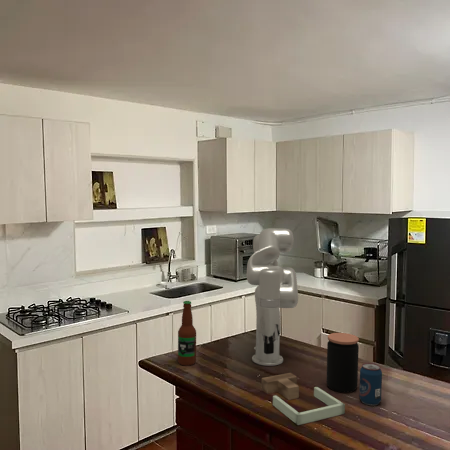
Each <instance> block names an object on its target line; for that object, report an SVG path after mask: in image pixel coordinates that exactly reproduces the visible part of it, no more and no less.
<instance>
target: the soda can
mask: <svg viewBox="0 0 450 450" xmlns="http://www.w3.org/2000/svg"><path fill="white" fill-rule="evenodd" d="M382 384H383V371H382V369H381V366H380V365H379V364H377V363H372V362H364V363H362V365H361V368H360V369H359V391H358V392H359V395H358V396H359V399H360V401H361V402H362V403H363V404H365V405H367V406H377V405H379V404H380V403H381V401H382V391H383V390H382V389H383V387H382Z"/></svg>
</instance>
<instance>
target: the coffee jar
mask: <svg viewBox="0 0 450 450" xmlns="http://www.w3.org/2000/svg"><path fill="white" fill-rule="evenodd" d="M359 339H360V338H359V337H358V336H357V335H355V334H351V333H347V332H333V333H330V334H328V335H327V340H328V342H327V349H326V352H327V353H326V384H327V387H328V388H329V389H330V390H332V391H335V392H337V393H345V394H348V393H352V392H354V391H355V390H356V389H357V388H358V385H359V381H358V378H359Z"/></svg>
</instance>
